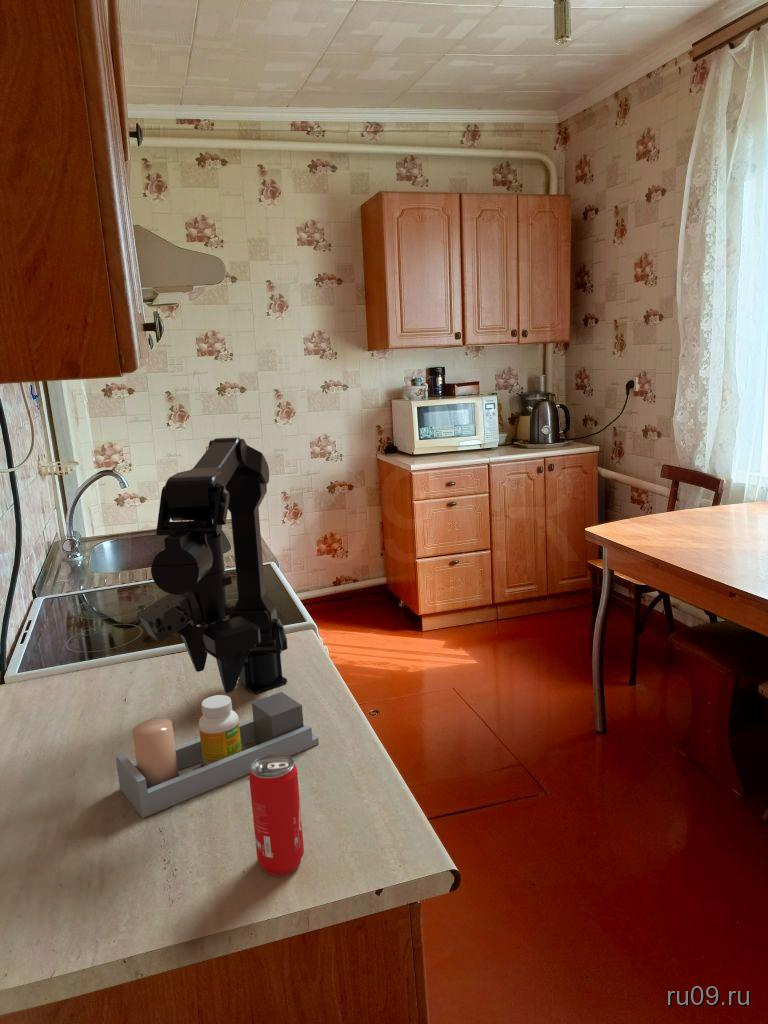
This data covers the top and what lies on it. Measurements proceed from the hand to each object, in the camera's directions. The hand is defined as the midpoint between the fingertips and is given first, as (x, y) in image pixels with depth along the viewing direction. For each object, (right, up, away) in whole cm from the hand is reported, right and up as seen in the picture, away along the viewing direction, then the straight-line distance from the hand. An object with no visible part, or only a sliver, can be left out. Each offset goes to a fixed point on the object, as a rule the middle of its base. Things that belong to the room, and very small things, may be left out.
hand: (214, 681), depth 100 cm
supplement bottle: (+1, -13, +3) cm, 13 cm away
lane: (+1, -12, +3) cm, 13 cm away
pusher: (+8, -11, +8) cm, 16 cm away
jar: (-6, -14, -3) cm, 16 cm away
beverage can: (+12, -16, -18) cm, 27 cm away
